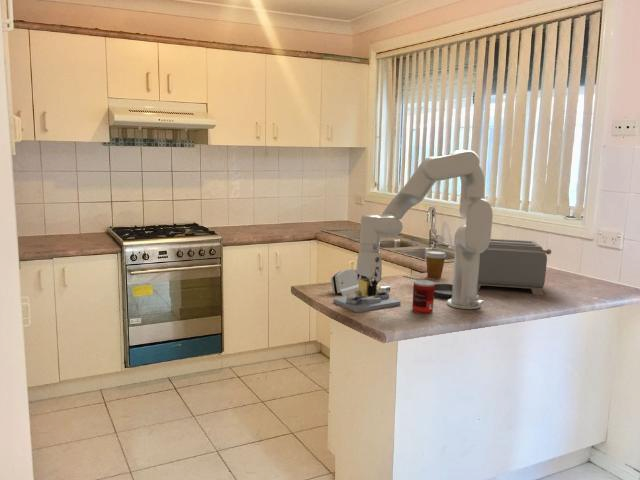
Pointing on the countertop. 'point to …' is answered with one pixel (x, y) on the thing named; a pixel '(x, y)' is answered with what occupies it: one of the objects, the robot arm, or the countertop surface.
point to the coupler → (365, 286)
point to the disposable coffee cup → (435, 263)
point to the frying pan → (441, 290)
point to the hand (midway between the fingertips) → (367, 293)
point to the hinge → (345, 282)
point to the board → (367, 303)
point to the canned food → (423, 296)
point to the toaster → (513, 265)
